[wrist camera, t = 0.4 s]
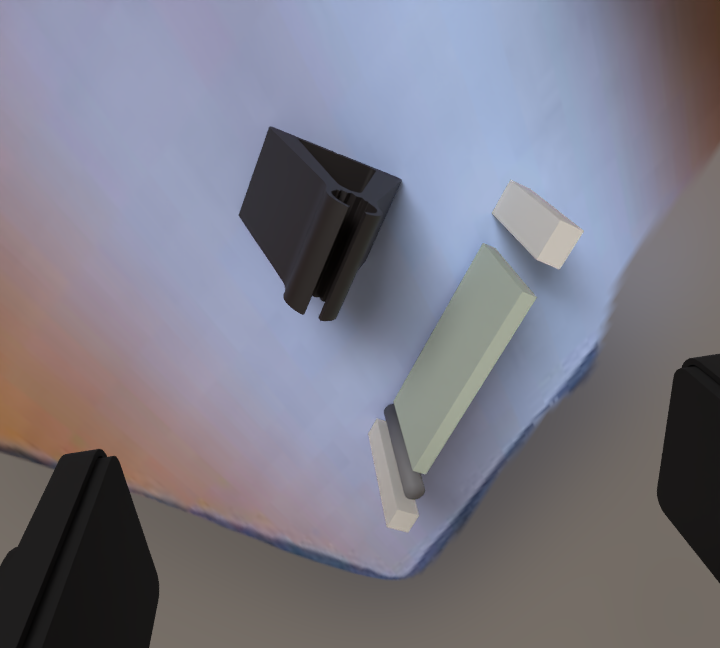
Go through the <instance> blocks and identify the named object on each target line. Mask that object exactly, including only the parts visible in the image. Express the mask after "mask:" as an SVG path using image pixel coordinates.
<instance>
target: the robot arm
mask: <svg viewBox="0 0 720 648" xmlns="http://www.w3.org/2000/svg"><path fill="white" fill-rule="evenodd" d="M657 497H658V501H659V504H660V506H661V509H662V510H663V512H664V513H665V515H666V516H667V517H668V519H669V520H670V521H671V522H672V524H673V525H674V526H675V527H676V528H677V530H678V531H679V532H680V534H681V535H682V536H683V537H684V539H685V540H686V541H687V542H688V544H689V545H690V546H691V548H692V549H693V550H694V551H695V553H696V554H697V555H698V556H699V557H700V559H701V560H702V561H703V563H704V564H705V565H706V566H707V568H708V569H709V570H710V571H711V573H712V574H713V575H714V577H715V578H716V579H717V580H718V582H719V583H720V354H715V355H709V356H702V357H696V358H689V359H688V360H686V361H685V362H684V363H683V365H682V368H680V369H678V370H677V371H676V372H675V374H674V379H673V385H672V392H671V399H670V405H669V412H668V419H667V425H666V432H665V439H664V446H663V453H662V459H661V466H660V473H659V480H658V487H657ZM158 598H159V581H158V575H157V572H156V569H155V566H154V563H153V560H152V557H151V554H150V551H149V549H148V546H147V542H146V540H145V536H144V533H143V530H142V527H141V524H140V521H139V519H138V515H137V513H136V510H135V507H134V504H133V501H132V498H131V495H130V492H129V489H128V486H127V483H126V480H125V477H124V474H123V471H122V468H121V465H120V462H119V460H118V458H117V457H116V456H110V457H107V455H106V453H105V452H104V451H103V450H101V449H96V450H89V451H83V452H76V453H70V454H65V455H63V456H62V457H61V458H60V460H59V462H58V464H57V466H56V468H55V470H54V472H53V474H52V476H51V478H50V481H49V483H48V485H47V487H46V489H45V491H44V493H43V495H42V497H41V500H40V501H39V504H38V506H37V508H36V510H35V512H34V514H33V516H32V518H31V520H30V522H29V524H28V526H27V528H26V531H25V533H24V535H23V537H22V539H21V541H20V543H19V545H18V547H15V548H14V549H12V550H11V551H9V553H8V554H7V556H6V557H5V559H4V560H3V562H2V564H1V566H0V648H149V645H150V640H151V635H152V630H153V625H154V619H155V614H156V609H157V604H158Z"/></svg>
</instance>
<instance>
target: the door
mask: <svg viewBox="0 0 720 648" xmlns="http://www.w3.org/2000/svg"><path fill="white" fill-rule="evenodd" d="M536 298H537V297H536V296H535V295H534V294H533V292H532V291H531V290H530V289H529V288H528V287H527V285H526V284H525V283H524V282H523V281H522V279H521V278H520V277H519V276H518V275H517V273H516V272H515V271H514V270H513V269H512V267H511V266H510V265H509V264H508V263H507V262H506V260H505V259H504V258H503V257H502V256H501V254H500V253H499V252H498V251H497V250H496V248H494V247H491V246H489V245H487V244H484V243H483V244H482V245H481V247H480V249H479V251H478V253H477V254H476V256H475V258H474V260H473V261H472V263H471V265H470V267H469V268H468V270H467V272H466V274H465V276H464V277H463V279H462V281H461V283H460V284H459V286H458V288H457V290H456V291H455V293H454V295H453V297H452V299H451V300H450V302H449V304H448V306H447V307H446V309H445V311H444V313H443V314H442V316H441V318H440V320H439V322H438V323H437V325H436V327H435V329H434V330H433V332H432V334H431V336H430V337H429V339H428V341H427V343H426V345H425V346H424V348H423V350H422V352H421V353H420V355H419V357H418V359H417V360H416V362H415V364H414V366H413V368H412V369H411V371H410V373H409V375H408V376H407V378H406V380H405V382H404V383H403V385H402V387H401V389H400V391H399V392H398V394H397V396H396V398H395V399H394V401H393V402H394V404H390V405H388V406H387V407H386V408H385V410H384V415H385V419H386V423H387V427H388V431H389V435H390V439H391V443H392V447H393V451H394V455H395V459H396V463H397V467H398V471H399V475H400V479H401V483H402V487H403V491H404V495H405V497H406V498H408V499H412V500H414V499H418V498H420V497H422V496H423V495H424V493H425V488H424V484H423V481H422V477H421V474H420V473H422V474H426V473H427V472H428V470H429V469H430V467H431V465H432V464H433V462H434V461H435V459H436V457H437V456H438V454H439V453H440V451H441V449H442V448H443V446H444V445H445V443H446V442H447V440H448V438H449V437H450V435H451V434H452V432H453V430H454V429H455V427H456V426H457V424H458V422H459V421H460V419H461V418H462V416H463V414H464V413H465V411H466V410H467V408H468V406H469V405H470V403H471V402H472V400H473V398H474V397H475V395H476V394H477V392H478V390H479V389H480V387H481V386H482V384H483V382H484V381H485V379H486V378H487V376H488V374H489V373H490V371H491V370H492V368H493V366H494V365H495V363H496V362H497V360H498V358H499V357H500V355H501V354H502V352H503V350H504V349H505V347H506V346H507V344H508V343H509V341H510V339H511V338H512V336H513V335H514V333H515V331H516V330H517V328H518V327H519V325H520V323H521V322H522V320H523V319H524V317H525V315H526V314H527V312H528V311H529V309H530V307H531V306H532V304H533V303H534V301H535V299H536Z"/></svg>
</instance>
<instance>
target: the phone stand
mask: <svg viewBox="0 0 720 648" xmlns="http://www.w3.org/2000/svg"><path fill="white" fill-rule="evenodd" d="M401 181H402V180H401V179H399V178H398V177H395V176H393V175H390V174H388V173H385V172H383V171H380V170H378V169H375V168H373V167H370V166H368V165H365V164H363V163H361V162H358V161H356V160H353V159H351V158H348V157H346V156H343V155H341V154H337V153H335V152H333V151H331V150H328V149H326V148H323V147H321V146H318V145H316V144H313V143H311V142H308V141H306V140H303V139H301V138H299V137H296V136H294V135H291V134H289V133H286V132H284V131H281V130H279V129H276V128H274V127H269V129H268V132H267V135H266V138H265V141H264V144H263V147H262V150H261V152H260V155H259V158H258V161H257V164H256V167H255V170H254V173H253V175H252V178H251V181H250V184H249V187H248V190H247V193H246V196H245V198H244V201H243V204H242V207H241V210H240V213H239V217H240V218H241V220H242V221H243V223H244V224H245V226H246V227H247V229H248V230H249V232H250V233H251V235H252V236H253V238H254V239H255V241H256V242H257V244H258V245H259V246H260V248H261V249H262V251H263V252H264V254H265V255H266V257H267V258H268V260H269V261H270V263H271V264H272V266H273V267H274V269H275V270H276V272H277V273H278V275H279V276H280V278H281V279H282V281H283V283H284V285H285V293H284V300H285V302H286V303H287V304H288V305H289V306H290V307H291V308H292V309H294V310H295V311H297V312H299V313H300V314H302V315H304V313H305V311H306V309H307V306H308V304H309V302H310V299H311V297H312V296H314V297H320V299H321V300H322V301H324V302H325V304H324V306H323V308H322V311H321V313H320V315H319V319H320V321H332V320H334V319H336V317H337V315H338V313H339V311H340V309H341V306H342V304H343V302H344V300H345V297H346V295H347V293H348V291H349V288H350V286H351V284H352V282H353V279H354V277H355V275H356V273H357V271H358V270H359V268H360V267H361V266H362V265H363V263H364V262H365V261H366V259H367V256H368V254H369V252H370V250H371V247H372V245H373V243H374V241H375V239H376V236H377V234H378V232H379V230H380V227H381V225H382V223H383V221H384V219H385V216H386V214H387V212H388V210H389V207H390V205H391V203H392V201H393V198H394V196H395V194H396V192H397V190H398V187H399V185H400V183H401Z"/></svg>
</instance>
